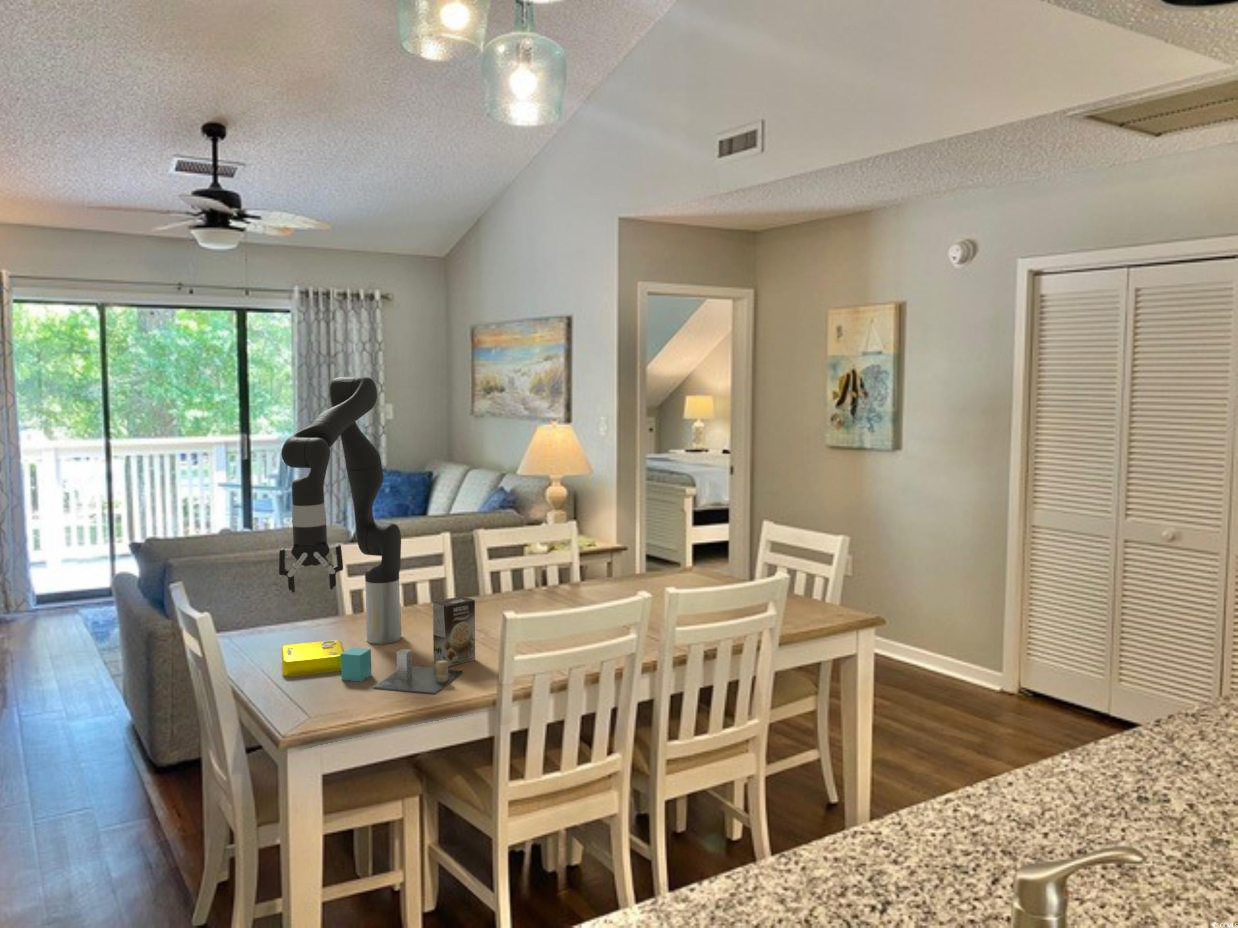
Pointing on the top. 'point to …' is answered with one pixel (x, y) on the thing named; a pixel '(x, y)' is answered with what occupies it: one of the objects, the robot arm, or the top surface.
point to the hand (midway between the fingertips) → (312, 590)
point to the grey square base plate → (414, 677)
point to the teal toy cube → (356, 664)
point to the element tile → (311, 658)
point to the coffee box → (454, 630)
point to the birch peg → (441, 671)
